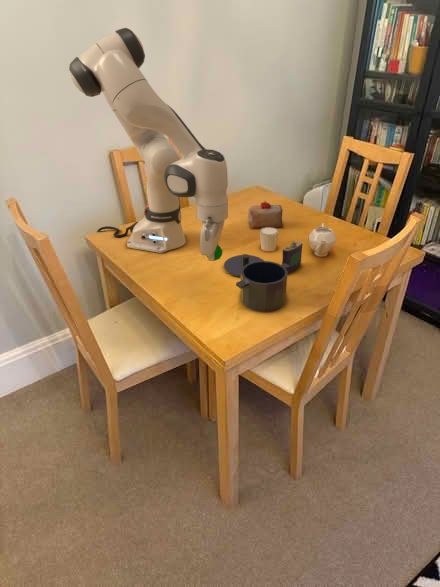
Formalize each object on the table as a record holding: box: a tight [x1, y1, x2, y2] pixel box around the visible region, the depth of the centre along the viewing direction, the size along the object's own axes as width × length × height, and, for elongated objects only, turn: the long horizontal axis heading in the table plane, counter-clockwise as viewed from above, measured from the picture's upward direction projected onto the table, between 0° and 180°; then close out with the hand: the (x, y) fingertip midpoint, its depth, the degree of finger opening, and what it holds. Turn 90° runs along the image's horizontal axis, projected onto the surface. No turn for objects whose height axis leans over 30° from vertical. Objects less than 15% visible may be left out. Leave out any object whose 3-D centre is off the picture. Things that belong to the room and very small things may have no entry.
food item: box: [247, 200, 284, 229], centre depth 171 cm, size 14×8×10 cm, turn 91°
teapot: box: [308, 222, 337, 257], centre depth 149 cm, size 10×20×9 cm, turn 168°
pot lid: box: [223, 253, 265, 278], centre depth 143 cm, size 15×15×5 cm
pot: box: [235, 260, 291, 313], centre depth 126 cm, size 14×19×10 cm
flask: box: [281, 240, 303, 276], centre depth 140 cm, size 9×3×11 cm, turn 134°
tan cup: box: [259, 227, 280, 252], centre depth 155 cm, size 7×7×7 cm
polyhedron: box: [206, 244, 223, 262], centre depth 124 cm, size 5×5×5 cm
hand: (213, 254), depth 125 cm, fingers closed on polyhedron, 5 cm apart
